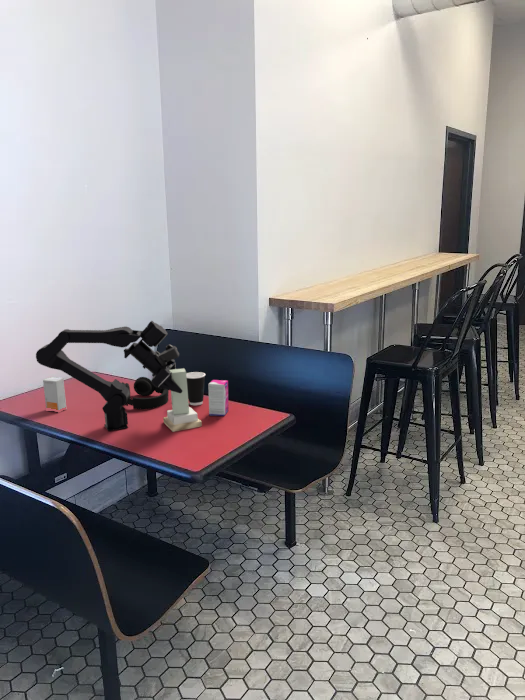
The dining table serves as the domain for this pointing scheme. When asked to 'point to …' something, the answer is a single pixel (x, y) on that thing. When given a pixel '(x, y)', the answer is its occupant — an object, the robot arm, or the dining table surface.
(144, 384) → the headphones
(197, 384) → the dixie cup
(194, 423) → the tower base slab
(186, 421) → the tower top slab
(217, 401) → the supplement box
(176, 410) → the tall block
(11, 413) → the dining table surface
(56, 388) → the skincare box
